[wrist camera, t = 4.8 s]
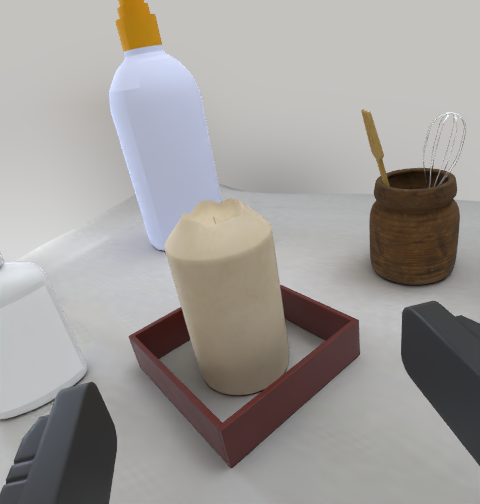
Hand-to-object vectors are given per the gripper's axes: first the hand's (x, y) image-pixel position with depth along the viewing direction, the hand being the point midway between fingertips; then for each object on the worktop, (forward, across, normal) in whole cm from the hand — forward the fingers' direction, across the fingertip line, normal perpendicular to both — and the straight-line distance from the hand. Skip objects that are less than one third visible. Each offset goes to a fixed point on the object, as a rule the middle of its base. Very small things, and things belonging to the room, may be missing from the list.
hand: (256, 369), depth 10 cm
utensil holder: (+16, -14, +9) cm, 23 cm away
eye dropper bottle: (+12, +13, +9) cm, 20 cm away
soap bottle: (+32, +2, +9) cm, 34 cm away
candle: (+10, 0, +9) cm, 14 cm away
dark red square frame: (+10, 0, +9) cm, 14 cm away
